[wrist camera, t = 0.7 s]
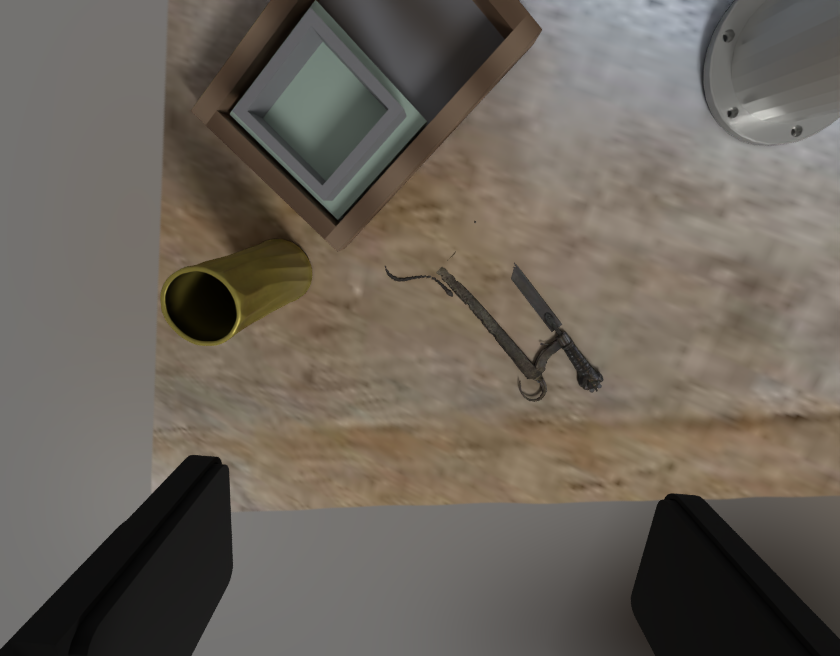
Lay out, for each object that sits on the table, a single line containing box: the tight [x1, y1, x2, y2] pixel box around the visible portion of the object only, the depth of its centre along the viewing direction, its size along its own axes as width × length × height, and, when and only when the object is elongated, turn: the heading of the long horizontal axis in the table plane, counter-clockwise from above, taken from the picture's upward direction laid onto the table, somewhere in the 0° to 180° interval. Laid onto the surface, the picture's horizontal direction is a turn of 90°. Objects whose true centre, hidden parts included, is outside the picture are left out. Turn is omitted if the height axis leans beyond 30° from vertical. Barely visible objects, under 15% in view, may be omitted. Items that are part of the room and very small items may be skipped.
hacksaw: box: [385, 221, 603, 402], centre depth 40 cm, size 24×10×2 cm, turn 39°
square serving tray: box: [230, 0, 427, 220], centre depth 33 cm, size 11×12×4 cm
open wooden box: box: [191, 0, 542, 252], centre depth 33 cm, size 23×16×3 cm
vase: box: [160, 239, 312, 346], centre depth 33 cm, size 6×6×14 cm
